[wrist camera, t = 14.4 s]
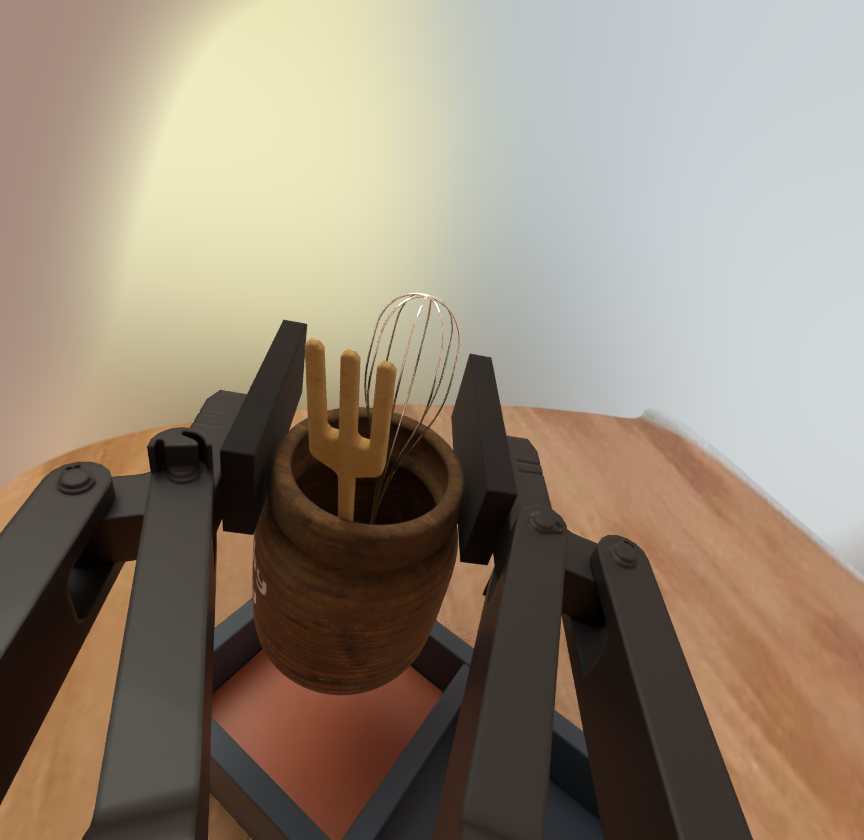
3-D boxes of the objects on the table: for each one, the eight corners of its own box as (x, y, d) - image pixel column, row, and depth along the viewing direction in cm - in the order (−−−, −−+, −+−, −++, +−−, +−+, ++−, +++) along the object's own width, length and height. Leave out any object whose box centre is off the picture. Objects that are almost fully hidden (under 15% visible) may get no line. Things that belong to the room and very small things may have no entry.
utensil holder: (445, 573, 20) (551, 276, 13) (399, 744, 15) (531, 409, 8) (301, 524, 21) (328, 212, 14) (208, 675, 15) (176, 300, 8)
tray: (555, 1173, 14) (608, 1181, 12) (152, 729, 20) (142, 684, 18) (643, 840, 21) (687, 809, 19) (321, 581, 27) (327, 536, 25)
